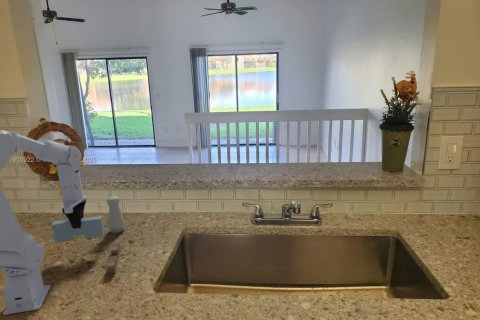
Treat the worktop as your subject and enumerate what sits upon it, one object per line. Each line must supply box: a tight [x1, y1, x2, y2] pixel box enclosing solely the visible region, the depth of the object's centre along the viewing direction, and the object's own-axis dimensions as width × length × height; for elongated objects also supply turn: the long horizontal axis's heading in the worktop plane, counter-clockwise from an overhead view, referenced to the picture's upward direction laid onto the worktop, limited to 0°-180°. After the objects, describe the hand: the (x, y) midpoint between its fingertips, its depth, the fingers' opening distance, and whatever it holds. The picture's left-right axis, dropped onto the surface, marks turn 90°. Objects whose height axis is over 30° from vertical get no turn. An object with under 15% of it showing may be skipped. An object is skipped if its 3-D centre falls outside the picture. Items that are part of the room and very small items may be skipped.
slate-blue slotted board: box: [51, 215, 105, 244], centre depth 105 cm, size 2×14×6 cm, turn 103°
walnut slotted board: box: [106, 241, 121, 276], centre depth 102 cm, size 14×2×3 cm, turn 13°
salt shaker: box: [106, 195, 126, 234], centre depth 121 cm, size 6×6×13 cm
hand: (78, 225), depth 105 cm, fingers closed on slate-blue slotted board, 2 cm apart
